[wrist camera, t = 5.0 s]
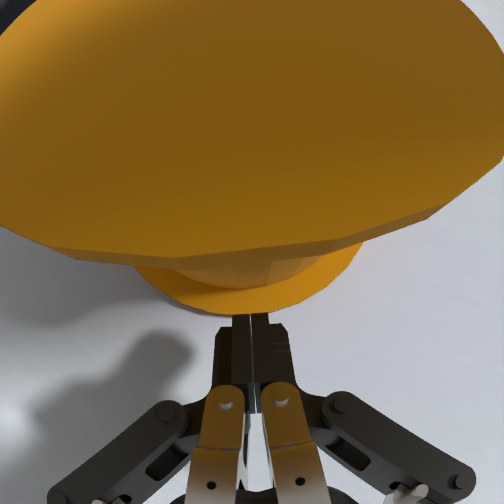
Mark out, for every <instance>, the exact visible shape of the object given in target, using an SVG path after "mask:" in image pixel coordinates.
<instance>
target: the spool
mask: <svg viewBox="0 0 504 504" xmlns="http://www.w3.org/2000/svg"><path fill="white" fill-rule="evenodd" d="M503 156H504V54H503V52H502V50H501V48H500V47H499V45H498V43H497V42H496V40H495V39H494V37H493V35H492V34H491V33H490V32H489V30H488V29H487V28H486V27H485V25H484V24H483V23H482V22H481V21H480V20H479V18H478V17H477V16H476V15H475V14H474V13H473V12H472V11H471V10H470V9H469V8H468V7H467V6H466V5H465V4H464V3H463V2H462V1H461V0H37V1H36V2H35V3H33V4H32V5H31V6H30V7H29V8H28V9H26V10H25V11H24V12H23V13H22V14H21V15H20V16H19V17H18V18H17V19H16V20H15V21H14V22H13V23H12V24H11V25H10V26H9V27H8V28H7V29H6V30H5V32H4V33H3V34H2V35H1V36H0V226H2V227H4V228H6V229H8V230H10V231H12V232H14V233H16V234H18V235H21V236H23V237H25V238H27V239H30V240H32V241H34V242H36V243H39V244H41V245H43V246H46V247H48V248H51V249H53V250H55V251H58V252H60V253H63V254H65V255H68V256H70V257H72V258H75V259H79V260H87V261H96V262H105V263H114V264H124V265H134V266H135V268H136V269H137V270H138V272H140V273H141V274H142V275H143V276H144V277H145V278H146V279H147V280H148V281H149V282H150V283H151V284H152V285H153V286H154V287H156V288H157V289H158V290H160V291H161V292H163V293H165V294H166V295H168V296H170V297H172V298H173V299H175V300H177V301H178V302H180V303H182V304H185V305H188V306H191V307H194V308H197V309H201V310H204V311H207V312H210V313H216V314H226V315H233V314H250V315H251V313H263V312H268V313H271V312H274V311H277V310H280V309H283V308H286V307H289V306H292V305H295V304H298V303H300V302H302V301H304V300H305V299H307V298H309V297H310V296H312V295H314V294H315V293H317V292H319V291H320V290H322V289H324V288H325V287H327V286H328V285H329V284H330V283H331V282H332V281H333V280H334V279H335V278H336V277H337V276H338V275H340V274H341V273H342V272H343V271H344V270H345V269H346V268H347V267H348V265H349V264H350V262H351V261H352V259H353V258H354V256H355V255H356V253H357V252H358V250H359V249H360V247H361V246H362V243H363V242H364V241H367V240H370V239H373V238H376V237H378V236H381V235H384V234H387V233H390V232H393V231H395V230H398V229H401V228H404V227H406V226H409V225H412V224H415V223H417V222H420V221H423V220H426V219H427V218H429V217H430V216H432V215H433V214H434V213H436V212H437V211H438V210H440V209H441V208H443V207H444V206H445V205H447V204H448V203H449V202H451V201H452V200H453V199H455V198H456V197H457V196H459V195H460V194H461V193H462V192H464V191H465V190H466V189H468V188H469V187H470V186H471V185H473V184H474V183H475V182H477V181H478V180H479V179H480V178H482V177H483V176H484V175H485V174H486V173H488V172H489V171H490V170H491V169H493V168H494V167H495V166H496V165H497V164H499V163H500V162H501V160H502V158H503Z"/></svg>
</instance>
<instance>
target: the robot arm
mask: <svg viewBox="0 0 504 504" xmlns="http://www.w3.org/2000/svg"><path fill="white" fill-rule="evenodd" d="M251 328H252V336H251ZM253 371H254V372H253ZM254 387H255V393H254ZM255 397H256V407H257V413H262V423H263V433H264V440H265V446H266V452H267V459H268V465H269V472H270V480H271V486H272V488H271V489H267V490H264V491H260V492H252V491H248V454H249V436H250V426H251V423H250V414H254V413H255ZM316 445H317V446H318V447H319V448H320V449H321V450H323V451H324V452H325V453H326V454H328V455H329V456H330V457H332V458H333V459H334V460H336V461H337V462H338V463H340V464H341V465H342V466H344V467H345V468H346V469H348V470H349V471H351V472H352V473H353V474H355V475H356V476H358V477H359V478H361V479H362V480H363V481H365V482H366V483H368V484H369V485H371V486H372V487H374V488H375V489H377V490H378V491H380V492H381V493H383V494H384V495H386V497H385V499H384V501H383V504H454V503H456V502H458V501H460V500H462V499H464V498H466V497H467V496H469V495H470V494H471V493H472V491H473V489H474V487H475V485H476V475H475V472H474V471H473V469H472V468H471V467H469V466H467V465H466V464H464V463H462V462H460V461H458V460H457V459H455V458H453V457H451V456H450V455H448V454H446V453H445V452H443V451H441V450H439V449H438V448H436V447H434V446H433V445H431V444H429V443H428V442H426V441H424V440H423V439H421V438H419V437H418V436H416V435H415V434H413V433H411V432H410V431H408V430H407V429H405V428H403V427H402V426H400V425H399V424H397V423H396V422H394V421H392V420H391V419H389V418H388V417H386V416H385V415H383V414H382V413H380V412H379V411H377V410H376V409H374V408H373V407H371V406H370V405H368V404H367V403H365V402H364V401H362V400H361V399H359V398H358V397H356V396H355V395H353V394H351V393H349V392H345V391H338V392H334V393H332V394H330V395H328V396H327V397H322V396H315V395H311V394H308V393H306V392H304V391H303V390H301V389H300V388H299V387H298V385H297V383H296V380H295V375H294V369H293V363H292V356H291V351H290V344H289V338H288V332H287V330H286V329H285V328H284V327H283V325H282V324H281V323H278V324H269V318H268V312H263V313H251V324H250V314H233V315H232V327H221V328H220V329H219V331H218V333H217V334H216V336H215V348H214V361H213V375H212V386H211V390H210V391H209V393H208V394H207V395H206V396H205V397H204V398H203V399H201V400H199V401H197V402H194V403H190V404H187V405H183V406H182V405H181V404H179V403H178V402H175V401H172V400H165V401H161V402H159V403H157V404H156V405H154V406H153V407H152V408H151V409H150V410H148V411H147V412H146V413H145V414H144V415H143V416H141V417H140V418H139V419H138V420H137V421H135V422H134V423H133V424H132V425H131V426H129V427H128V428H127V429H126V430H125V431H123V432H122V433H121V434H120V435H119V436H117V437H116V438H115V439H114V440H113V441H111V442H110V443H109V444H108V445H106V446H105V447H104V448H103V449H101V450H100V451H99V452H98V453H96V454H95V455H94V456H93V457H91V458H90V459H89V460H87V461H86V462H85V463H84V464H82V465H81V466H80V467H78V468H77V469H76V470H75V471H73V472H72V473H71V474H69V475H68V476H67V477H65V478H64V479H63V480H61V481H60V482H59V483H57V484H56V485H55V486H53V487H52V488H51V489H50V490H49V492H48V494H47V504H142V503H143V502H145V501H146V500H147V499H148V498H149V497H151V496H152V495H153V494H154V493H155V492H156V491H158V490H159V489H160V488H161V487H162V486H163V485H164V484H165V483H167V482H168V481H169V480H170V479H171V478H172V477H173V476H174V475H175V474H176V473H177V472H179V471H180V470H181V469H182V468H183V467H184V466H185V465H186V464H187V463H188V462H189V461H190V460H191V464H190V470H189V477H188V483H187V490H186V494H184V495H182V496H180V497H178V498H176V499H175V500H173V501H172V502H171V503H170V504H359V503H357V502H356V501H355V500H353V499H352V498H351V497H350V496H348V495H347V494H345V493H344V492H342V491H340V490H338V489H335V488H333V487H329V486H327V484H326V480H325V476H324V472H323V469H322V465H321V461H320V457H319V453H318V449H317V446H316Z"/></svg>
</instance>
